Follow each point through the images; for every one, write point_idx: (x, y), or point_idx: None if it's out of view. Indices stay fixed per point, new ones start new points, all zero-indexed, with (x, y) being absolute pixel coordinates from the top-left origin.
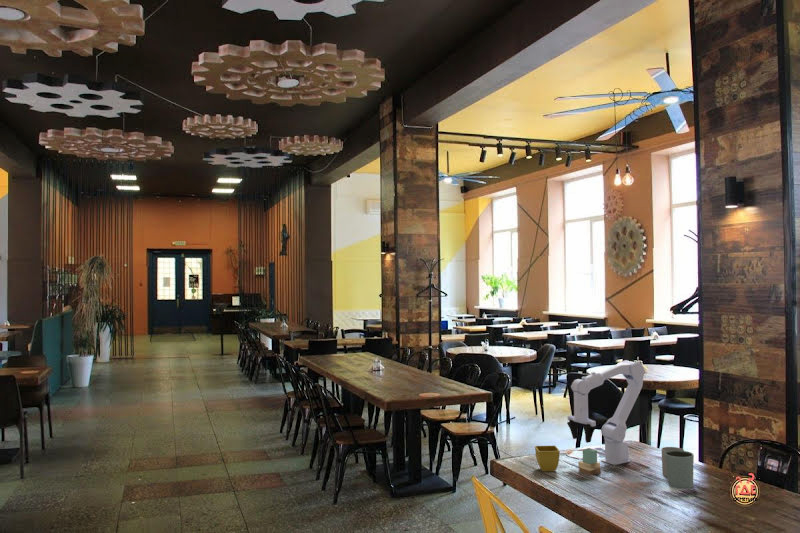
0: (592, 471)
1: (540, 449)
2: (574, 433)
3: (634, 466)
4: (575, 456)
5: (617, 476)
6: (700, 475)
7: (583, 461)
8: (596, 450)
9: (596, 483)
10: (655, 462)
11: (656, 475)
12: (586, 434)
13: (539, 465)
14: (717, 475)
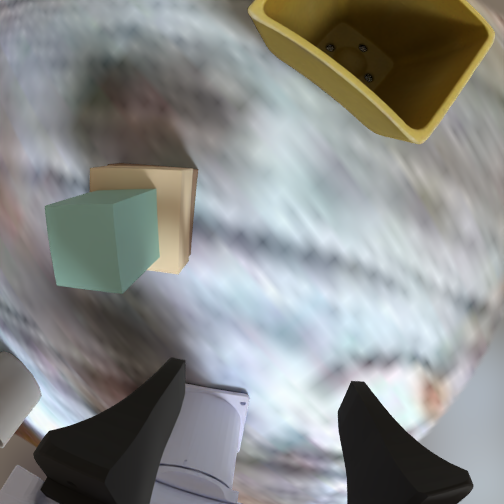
0: None
1: (462, 57)
2: (360, 426)
3: (118, 401)
4: (384, 376)
5: (48, 249)
6: None
7: (149, 189)
8: (57, 279)
9: (39, 97)
10: None
11: (21, 348)
12: (127, 402)
13: (382, 26)
14: None
